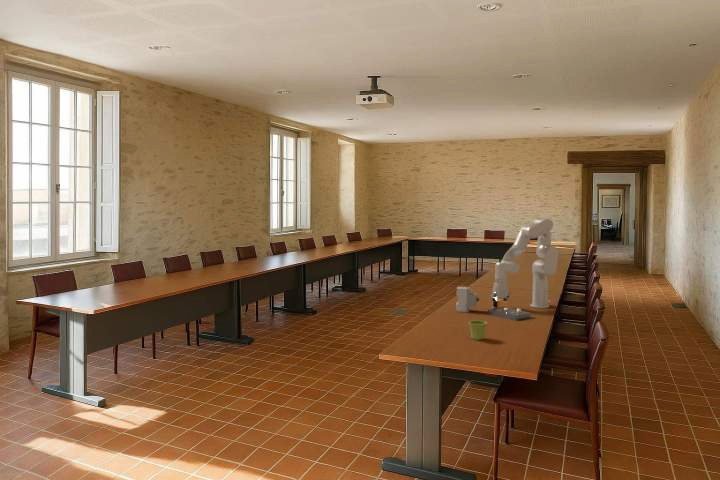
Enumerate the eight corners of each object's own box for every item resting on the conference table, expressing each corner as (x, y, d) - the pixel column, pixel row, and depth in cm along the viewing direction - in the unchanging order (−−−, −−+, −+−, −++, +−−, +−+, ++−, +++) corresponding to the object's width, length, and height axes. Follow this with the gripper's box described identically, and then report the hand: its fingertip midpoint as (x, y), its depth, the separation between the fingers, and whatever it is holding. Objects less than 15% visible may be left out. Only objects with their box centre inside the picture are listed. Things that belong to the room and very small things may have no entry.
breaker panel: (502, 311, 355) (503, 306, 354) (530, 317, 336) (530, 312, 336) (487, 313, 347) (487, 308, 346) (515, 320, 329) (515, 315, 328)
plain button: (518, 313, 339) (518, 308, 339) (521, 314, 337) (521, 309, 337) (515, 314, 338) (516, 308, 338) (519, 315, 336) (519, 309, 336)
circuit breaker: (478, 312, 350) (479, 289, 348) (456, 311, 352) (456, 288, 351) (478, 310, 357) (479, 287, 356) (456, 309, 360) (456, 286, 358)
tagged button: (505, 313, 348) (506, 307, 347) (508, 313, 346) (509, 308, 345) (503, 313, 346) (503, 308, 346) (506, 314, 344) (506, 308, 344)
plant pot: (466, 339, 284) (466, 323, 283) (470, 335, 293) (470, 319, 292) (484, 341, 280) (485, 325, 280) (488, 337, 289) (488, 321, 288)
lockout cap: (499, 307, 367) (499, 299, 366) (507, 309, 361) (507, 300, 360) (492, 308, 363) (492, 300, 362) (500, 310, 357) (500, 302, 356)
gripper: (505, 279, 368) (504, 304, 370) (487, 281, 358) (486, 307, 360) (514, 280, 362) (513, 306, 363) (496, 282, 352) (495, 309, 354)
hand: (500, 306), depth 362 cm, fingers open, 9 cm apart
